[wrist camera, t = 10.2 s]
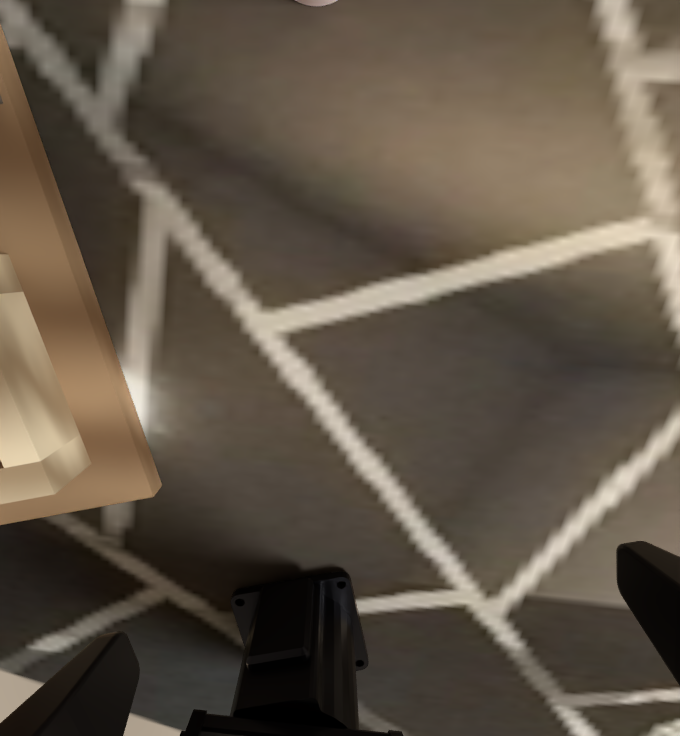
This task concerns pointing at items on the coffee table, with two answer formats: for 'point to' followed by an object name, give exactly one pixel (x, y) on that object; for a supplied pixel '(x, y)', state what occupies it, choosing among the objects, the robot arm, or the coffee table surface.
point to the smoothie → (315, 2)
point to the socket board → (55, 347)
